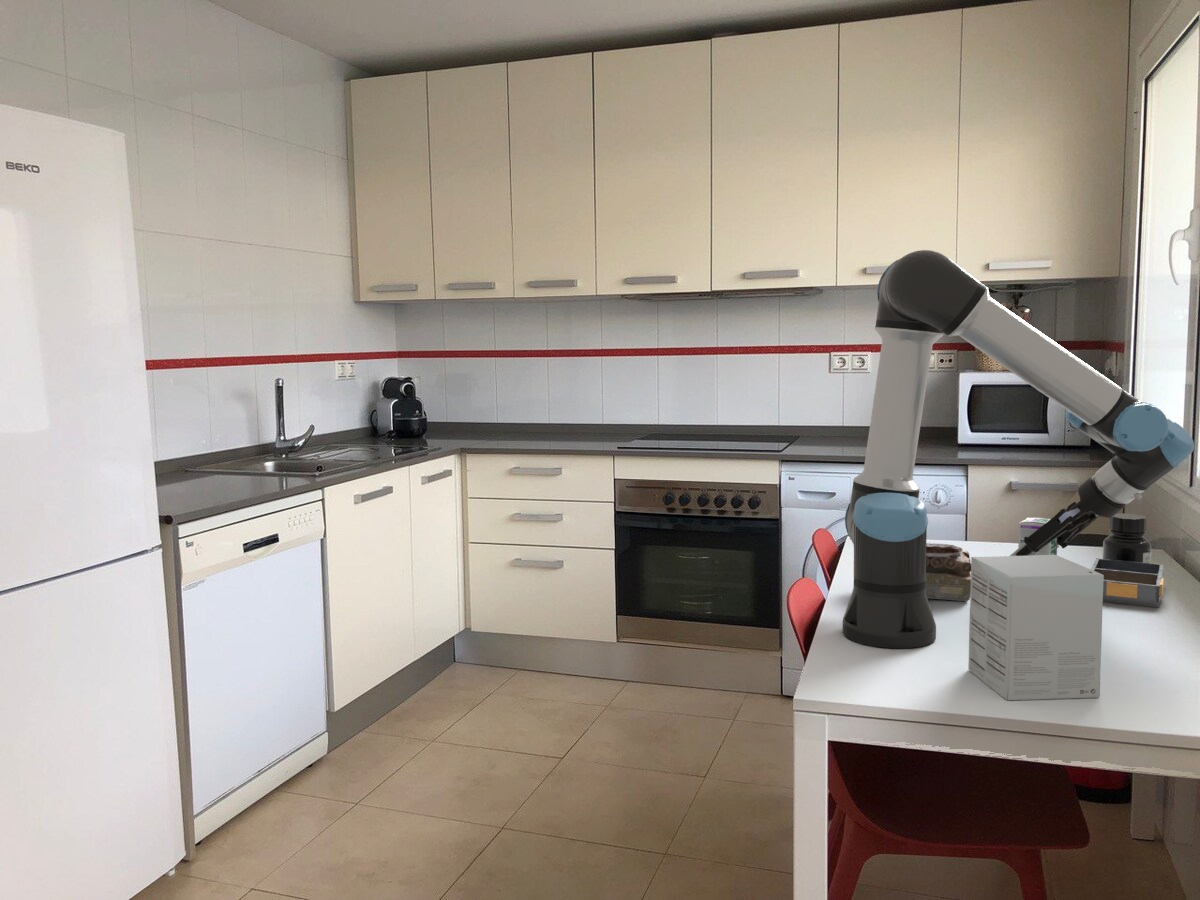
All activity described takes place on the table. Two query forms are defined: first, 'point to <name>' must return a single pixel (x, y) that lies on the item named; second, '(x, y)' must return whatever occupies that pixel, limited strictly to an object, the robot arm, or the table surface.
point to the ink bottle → (1127, 539)
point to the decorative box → (947, 572)
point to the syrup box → (1029, 528)
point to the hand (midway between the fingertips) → (1019, 563)
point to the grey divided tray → (1131, 582)
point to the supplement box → (1036, 627)
